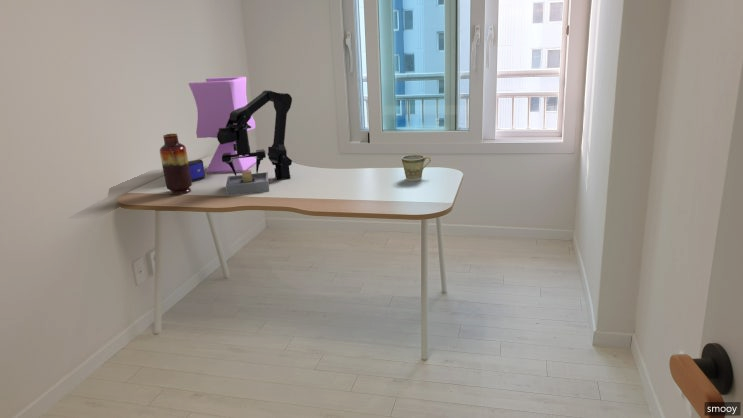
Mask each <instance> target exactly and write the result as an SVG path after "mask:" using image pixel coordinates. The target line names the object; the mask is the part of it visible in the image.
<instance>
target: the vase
mask: <svg viewBox="0 0 743 418" xmlns="http://www.w3.org/2000/svg"><path fill="white" fill-rule="evenodd" d="M162 137H163V143H164V144H163V145H162V146H161V147H160V148H159V154H160V155H159V156H160V160H161V165H162V171H163V177H164V182H165V185H166V189H167V190H168V191H169V194H170V195H174V196H178V195H179V196H180V195H184V194H188V193H190V192H191V191H192V188H190V187H191V186H192V185H193V182H192V180H191V174H190V169H189V163H188V161H189V158H188V153H187V148H186V145H184V144H182V143H181V142H179V138H178V137H179V136H178V133H166V134H163V135H162Z"/></svg>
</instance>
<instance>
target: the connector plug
mask: <svg viewBox="0 0 743 418" xmlns="http://www.w3.org/2000/svg"><path fill="white" fill-rule="evenodd" d="M252 174H253V173H252V169H248V170H244V171H242V173H241V175H242V177H243V183H249V182H253V181H252Z"/></svg>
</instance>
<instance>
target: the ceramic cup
mask: <svg viewBox="0 0 743 418" xmlns="http://www.w3.org/2000/svg"><path fill="white" fill-rule="evenodd" d="M426 159H429V160H428V162H427V163H426V164H425V165H424V163H425V161H426ZM401 163H402V166H403V170H404V175H405V176H404V177H405V179H406V181H407V182H408V181H409V182H416V181H417V182H418V181H420V180H422V178H423V171H424V169H425V168H426V167H427V166H428V165H429V164H430V163H431V157H429V156H424V155H422V154H407V155H404V156H402V157H401Z"/></svg>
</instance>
